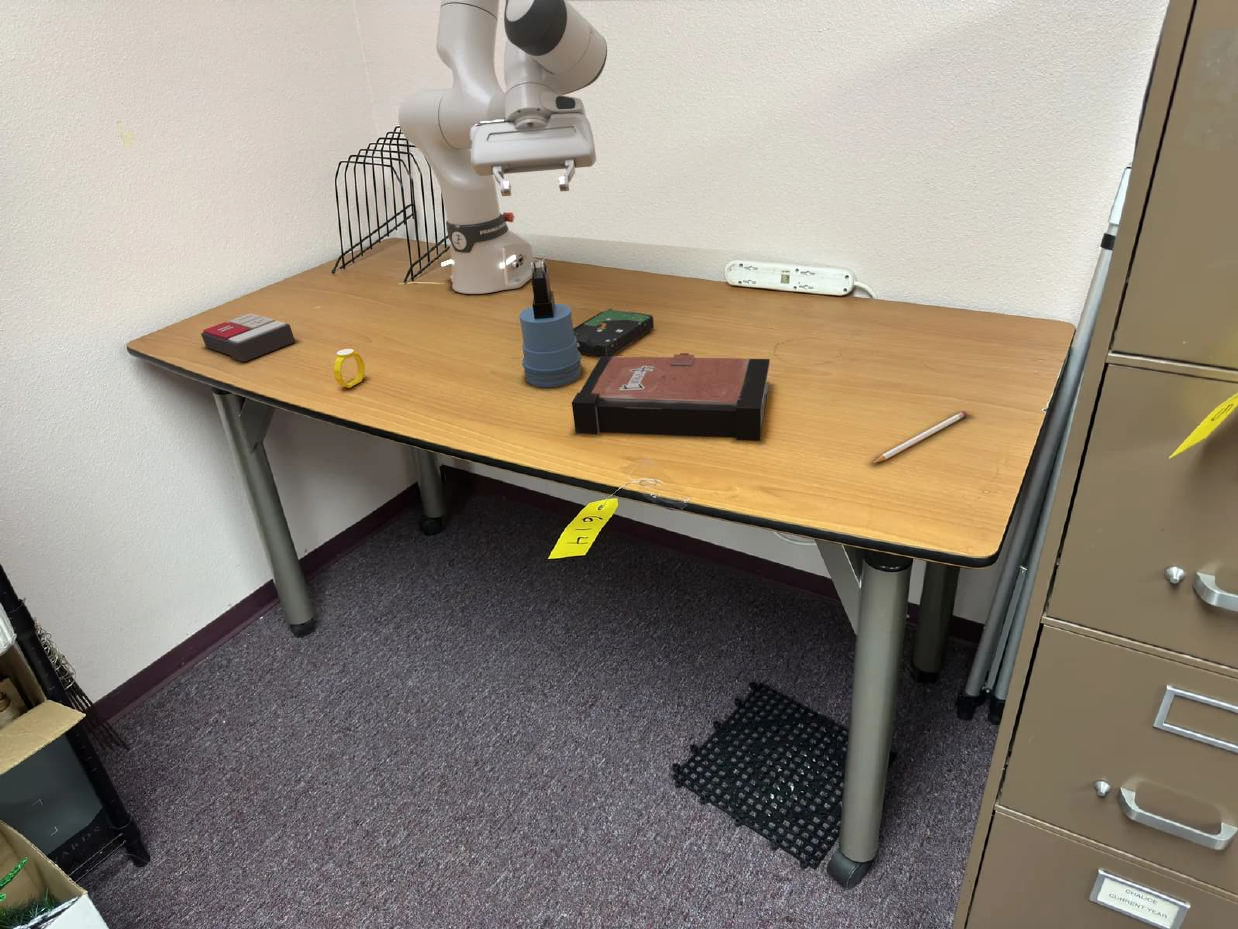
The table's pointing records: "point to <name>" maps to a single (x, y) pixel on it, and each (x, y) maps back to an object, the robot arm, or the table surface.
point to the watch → (338, 365)
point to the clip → (542, 292)
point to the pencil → (921, 436)
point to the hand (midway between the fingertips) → (535, 191)
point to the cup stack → (550, 348)
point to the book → (674, 397)
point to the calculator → (248, 336)
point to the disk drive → (611, 332)
